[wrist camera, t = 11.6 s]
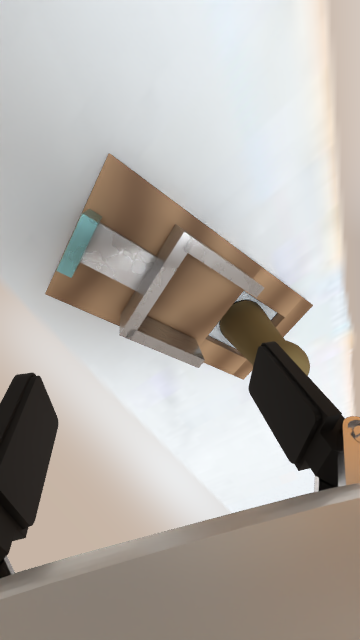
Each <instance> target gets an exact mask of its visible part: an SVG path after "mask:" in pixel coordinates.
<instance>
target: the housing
mask: <svg viewBox="0 0 360 640" xmlns="http://www.w3.org/2000/svg"><path fill="white" fill-rule="evenodd" d="M101 219H102V216H101V215H99V214H97V213H96V212H94V211H93V210H91V209H88V210H86V211H85V212H84V213H82V215H81V217H80V220H79V222H78V224H77V226H76V228H75V231H74V233H73V235H72V237H71V239H70V242H69V244H68V246H67V248H66V250H65V253H64V255H63V257H62V259H61V261H60V264H59V266H58V268H57V270H56V271H58V272H60V273H62V274H64V275H66V276H68V277H70V278H72V276H73V274H74V273H75V271H76V269H77V268H78V266H79V264H80V262H81V263H83V264H85V265H87V266H89V267H91V268H93V269H94V270H96V271H98V272H100V273H102V274H104V275H106V276H108V277H110V278H112V279H114V280H116V281H118V282H120V283H122V284H124V285H126V286H128V287H129V288H131V289H133V290H135V292H134V294H133V295H132V297H131V299H130V300H129V302H128V303H127V305H126V307H125V308H124V310H123V312H122V313H121V316H120V333H119V335H120V336H123V337H125V338H128V339H130V340H132V341H135V342H137V343H140V344H142V345H144V346H147V347H149V348H152V349H154V350H156V351H159V352H161V353H164V354H166V355H169V356H171V357H173V358H176V359H178V360H181V361H183V362H185V363H188V364H190V365H193V366H195V367H198V368H199V367H200V366H201V364H202V363H203V362H204V361H205V359H204V357H203V355H202V352H201V350H200V348H199V345H198V343H197V341H196V339H194V338H192V337H190V336H187V335H185V334H183V333H181V332H179V331H177V330H175V329H173V328H171V327H169V326H166V325H164V324H162V323H160V322H158V321H156V320H154V319H152V318H150V317H147V314H148V313H149V311H150V310H151V308H152V307H153V305H154V304H155V302H156V301H157V299H158V297H159V296H160V294H161V293H162V291H163V290H164V288H165V287H166V285H167V284H168V282H169V281H170V279H171V278H172V276H173V275H174V273H175V272H176V270H177V268H178V267H179V265H180V264H181V262H182V261H183V259H184V258H185V256H186V255H187V253H189V254H190V255H192V256H193V257H195V258H197V259H198V260H200V261H201V262H203V263H204V264H206V265H207V266H209V267H210V268H212V269H213V270H215V271H216V272H218V273H219V274H221V275H222V276H224V277H225V278H227V279H229V280H230V281H232V282H233V283H235V284H236V285H238V286H239V287H241V288H242V289H244V290H245V291H247V292H248V293H250V294H251V295H253V296H254V297H256V298H257V297H258V295H259V294H260V293H261V292H262V291H263V289H264V287H263V286H262V285H260V284H259V283H258V282H257V281H255V280H254V279H253V278H251V277H250V276H249V275H248V274H246V273H245V272H243V271H242V270H241V269H239V268H238V267H236V266H235V265H233V264H232V263H231V262H229V261H228V260H226V259H225V258H223V257H222V256H221V255H219V254H218V253H216V252H215V251H213V250H212V249H211V248H209V247H208V246H206V245H205V244H203V243H202V242H201V241H199V240H198V239H196V238H195V237H194V236H192V235H191V234H189V233H188V232H186V231H185V230H184V229H182V228H181V227H179V226H178V225H176V224H175V226H174V228H173V229H172V231H171V233H170V234H169V236H168V238H167V239H166V241H165V243H164V244H163V246H162V247H161V249H160V251H159V252H158V254H157V256H155V255H154V254H152V253H151V252H149V251H147V250H146V249H144V248H142V247H141V246H139V245H137V244H136V243H134V242H132V241H131V240H129V239H128V238H126V237H124V236H123V235H121V234H119V233H118V232H116V231H114V230H113V229H111V228H109V227H108V226H106V225H104V224H103V223H101V222H100V221H101Z"/></svg>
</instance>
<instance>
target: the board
mask: <svg viewBox="0 0 360 640" xmlns="http://www.w3.org/2000/svg"><path fill="white" fill-rule="evenodd" d="M88 209H91V210H93V211H94V212H96V213H97V214H99V215H101V216H102V219H101V221H100V222H101V223H103V224H104V225H106V226H108V227H109V228H111V229H113V230H114V231H116V232H118V233H119V234H121V235H123V236H124V237H126V238H128V239H129V240H131V241H132V242H134V243H136V244H137V245H139V246H141V247H142V248H144V249H146V250H147V251H149V252H151V253H152V254H154V255H155V256H157V254H158V252H159V251H160V249H161V247H162V246H163V244H164V243H165V241H166V239H167V238H168V236H169V234H170V233H171V231H172V229H173V228H174V226H175V224H176V225H178V226H179V227H181V228H182V229H184V230H185V231H186V232H188V233H189V234H191V235H192V236H194V237H195V238H196V239H198V240H199V241H201V242H202V243H203V244H205V245H206V246H208V247H209V248H211V249H212V250H213V251H215V252H216V253H218V254H219V255H221V256H222V257H223V258H225V259H226V260H228V261H229V262H231V263H232V264H233V265H235V266H236V267H238V268H239V269H241V270H242V271H243V272H245V273H246V274H248V275H249V276H250V277H251V278H253V279H254V280H255V281H257V282H258V283H259V284H260V285H262V286H263V287H264V289H263V291H262V292H261V293H260V294H259V295H258V297H257V298H256V297H255V298H256V299H258V300H259V301H261V302H262V303H264V304H265V305H267V306H268V307H270V308H271V309H273V310H274V311H276V312H277V315H276V316H275V317H274V318H273V319H272V320H271V322H272V323H273V324H274V326H275V327H276V329H277V330H278V331H279V333H280V334H281V335H282V337H284V336H285V335H286V334H287V333H288V332H289V330H290V329H291V328H292V327H293V326H294V325H295V324H296V323H297V322H298V321H299V320H300V319H301V318H302V317H303V316H304V314H305V313H306V312H307V311H308V310H309V309H310V308H311V307H312V306H313V305H312V304H311V303H309V302H308V301H307V300H305V299H304V298H303V297H301V296H300V295H299V294H297V293H296V292H295V291H293V290H292V289H291V288H289V287H288V286H287V285H285V284H284V283H283V282H281V281H280V280H279V279H277V278H276V277H274V276H273V275H272V274H270V273H269V272H268V271H266V270H265V269H264V268H262V267H261V266H260V265H258V264H257V263H256V262H254V261H253V260H252V259H250V258H249V257H248V256H246V255H245V254H244V253H242V252H241V251H240V250H238V249H237V248H236V247H234V246H233V245H232V244H230V243H229V242H228V241H226V240H225V239H224V238H222V237H221V236H220V235H218V234H217V233H216V232H214V231H213V230H212V229H210V228H209V227H208V226H206V225H205V224H203V223H202V222H201V221H199V220H198V219H197V218H195V217H194V216H193V215H191V214H190V213H189V212H187V211H186V210H185V209H183V208H182V207H181V206H179V205H178V204H177V203H175V202H174V201H173V200H171V199H170V198H169V197H167V196H166V195H165V194H163V193H162V192H161V191H159V190H158V189H157V188H155V187H154V186H153V185H151V184H150V183H149V182H147V181H146V180H145V179H143V178H142V177H141V176H139V175H138V174H137V173H135V172H134V171H133V170H131V169H130V168H128V167H127V166H126V165H124V164H123V163H122V162H120V161H119V160H118V159H116V158H115V157H114V156H112V155H111V154H110V153H109V154H108V156H107V159H106V161H105V163H104V165H103V167H102V170H101V172H100V174H99V176H98V178H97V181H96V183H95V185H94V187H93V190H92V192H91V194H90V196H89V198H88V201H87V203H86V205H85V207H84V209H83V212H82V213H84V212H85V211H86V210H88ZM81 215H82V214H81ZM80 217H81V216H80ZM79 220H80V218H79ZM79 220H78V222H79ZM77 224H78V223H77ZM76 226H77V225H76ZM75 228H76V227H75ZM74 231H75V229H74ZM74 231H73V233H74ZM72 235H73V234H72ZM71 237H72V236H71ZM70 239H71V238H70ZM69 242H70V240H69ZM69 242H68V244H69ZM67 246H68V245H67ZM66 248H67V247H66ZM65 250H66V249H65ZM64 253H65V251H64ZM64 253H63V255H64ZM62 257H63V256H62ZM61 259H62V258H61ZM60 261H61V260H60ZM59 264H60V262H59ZM59 264H58V266H59ZM57 268H58V267H57ZM56 270H57V269H56ZM243 291H245V290H244V289H242V288H241V287H239V286H238V285H236V284H235V283H233V282H232V281H230V280H229V279H227V278H225V277H224V276H222V275H221V274H219V273H218V272H216V271H215V270H213V269H212V268H210V267H209V266H207V265H206V264H204V263H203V262H201V261H200V260H198V259H197V258H195V257H193V256H192V255H190V254H189V253H187V255H186V256H185V258H184V259H183V261H182V262H181V264H180V265H179V267H178V268H177V270H176V272H175V273H174V275H173V276H172V278H171V279H170V281H169V282H168V284H167V285H166V287H165V288H164V290H163V291H162V293H161V294H160V296H159V297H158V299H157V301H156V302H155V304H154V305H153V307H152V308H151V310H150V311H149V313H148V314H147V317H150V318H152V319H154V320H156V321H158V322H160V323H162V324H164V325H166V326H169V327H171V328H173V329H175V330H177V331H179V332H181V333H183V334H185V335H187V336H190V337H192V338H194V339H196V341H197V343H198V345H199V348H200V350H201V352H202V355H203V357H204V359H205V361H204V363H206V364H208V365H211V366H213V367H215V368H218V369H220V370H222V371H225V372H227V373H229V374H232V375H234V376H236V377H239V378H241V379H243V380H244V378H245V377H246V376H247V375H248V374H249V373H250V372H251V371H252V370H253V365H252V364H251V363H250V362H249V361H248V360H247V359H246V358H245V357H244V356H243V355H242V354H241V353H240V352H239V351H238V350H236V349H234V348H232V347H230V346H228V345H226V344H224V343H222V342H220V341H218V340H216V339H214V338H212V337H210V336H208V335H209V334H210V332H211V331H212V330H213V328H214V327H215V326H216V325H217V323H218V322H219V321H220V320H221V318H222V317H223V316H224V315H225V313H226V312H227V311H228V310H229V308H230V307H231V306H232V305H233V303H234V302H235V301H236V300H237V298H238V297H239V296H240V294H241V293H242V292H243ZM134 292H135V290H133V289H131V288H129V287H128V286H126V285H124V284H122V283H120V282H118V281H116V280H114V279H112V278H110V277H108V276H106V275H104V274H102V273H100V272H98V271H96V270H94V269H93V268H91V267H89V266H87V265H85V264H83V263H81V262H80V264H79V266H78V268H77V269H76V271H75V273H74V274H73V276H72V278H70V277H68V276H66V275H64V274H62V273H60V272H58V271H55V273H54V275H53V278H52V280H51V282H50V284H49V287H48V289H47V291H46V293H45V294H46V295H49V296H51V297H53V298H55V299H58V300H60V301H62V302H65V303H67V304H69V305H72V306H74V307H76V308H79V309H81V310H83V311H86V312H88V313H90V314H93V315H95V316H97V317H100V318H102V319H104V320H106V321H109V322H111V323H113V324H116V325H118V326H120V316H121V313H122V312H123V310H124V308H125V307H126V305H127V303H128V302H129V300H130V299H131V297H132V295H133V294H134ZM245 292H247V291H245ZM247 293H248V292H247ZM248 294H250V293H248ZM250 295H251V294H250ZM251 296H253V295H251ZM253 297H254V296H253Z"/></svg>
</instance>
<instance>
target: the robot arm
mask: <svg viewBox="0 0 360 640" xmlns="http://www.w3.org/2000/svg"><path fill="white" fill-rule="evenodd" d="M249 392H250V395H251V396H252V398H253V400H254V401H255V403H256V405H257V407H258V408H259V410H260V412H261V413H262V415H263V417H264V419H265V420H266V422H267V424H268V425H269V427H270V429H271V431H272V432H273V434H274V436H275V437H276V439H277V441H278V442H279V444H280V446H281V448H282V449H283V451H284V453H285V454H286V456H287V458H288V459H289V461H290V462H291V463H293V464H295V466H296V467H297V469H298V471H300V470H304V469H309V468H311V470H312V471H313V473H314V474H315V482H314V492H313V493H309V494H305V495H301V496H297V497H293V498H289V499H285V500H281V501H278V502H274V503H270V504H266V505H262V506H259V507H255V508H251V509H247V510H243V511H239V512H236V513H232V514H228V515H224V516H221V517H217V518H213V519H209V520H206V521H202V522H198V523H194V524H191V525H187V526H183V527H179V528H176V529H172V530H168V531H164V532H161V533H157V534H153V535H150V536H146V537H142V538H138V539H135V540H131V541H127V542H124V543H120V544H116V545H113V546H109V547H105V548H102V549H98V550H94V551H91V552H87V553H84V554H80V555H76V556H73V557H69V558H66V559H62V560H59V561H55V562H52V563H48V564H45V565H42V566H38V567H35V568H31V569H28V570H24V571H21V572H18V573H15V572H14V570H13V568H12V566H11V564H10V562H9V560H8V558H7V555H8V553H9V550H10V547H11V543H12V541H15V540H18V539H23V538H26V534H27V530H28V527H29V526H32V525H33V523H34V521H35V518H36V514H37V510H38V506H39V502H40V498H41V493H42V490H43V486H44V482H45V478H46V473H47V469H48V465H49V461H50V457H51V453H52V449H53V445H54V441H55V437H56V433H57V429H58V418H57V415H56V413H55V411H54V408H53V406H52V403H51V401H50V398H49V396H48V394H47V392H46V389H45V387H44V384H43V382H42V379H41V377H40V376H36V375H35V374H34V373H27V374H20V375H16V376H15V377H14V378H13V380H12V382H11V384H10V386H9V388H8V390H7V392H6V394H5V396H4V398H3V399H2V401H1V403H0V640H360V417H357V416H350V417H347V418H346V419H345V418H344V417H343V416H342V415H341V414H342V413H341V412H340V411H339V410H338V409H337V408H336V407H335V406H334V404H333V403H332V402H331V401H330V400H329V399H328V398H327V397H326V396H325V395H324V394H323V392H322V391H321V390H320V389H319V388H318V387H317V386H316V385H315V384H314V383H313V382H312V380H311V379H310V378H309V377H308V376H307V375H306V374H305V373H304V372H303V371H302V370H301V368H300V367H299V366H298V365H297V364H296V363H295V362H294V361H293V360H292V359H291V358H290V356H289V355H288V354H287V353H286V352H285V351H284V350H283V349H282V348H281V347H280V346H279V344H278V343H276V342H275V341H272V342H265V343H262V344H261V346H259V347H258V349H257V353H256V358H255V362H254V366H253V370H252V375H251V379H250V383H249Z"/></svg>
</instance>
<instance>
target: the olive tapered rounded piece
mask: <svg viewBox="0 0 360 640" xmlns="http://www.w3.org/2000/svg"><path fill="white" fill-rule="evenodd" d="M220 330H221V332H222V334H223V336H224V337H225V338H226V339H227V340H228V341H229V342H230V343H231V344H232V345H233V346H234V347H235V348H236V349H237V350H238V351H239V352H240V353H241V354H242V355H243V356H244V357H245V358H246V359H247V360H248V361H249V362H250V363H251V364H252V365H253V366H254V362H255V358H256V353H257V349H258V347H259V346H261V344H262V343H265V342H272V341H275V342H276V343H278V344H279V346H280V347H281V348H282V349H283V350H284V351H285V352H286V353H287V354H288V355H289V356H290V358H291V359H292V360H293V361H294V362H295V363H296V364H297V365H298V366H299V367H300V368H301V370H302V371H303V372H304V373H305V374H306V375H307V376H308V374H309V370H310V364H309V360H308V357H307V355H306V353H305V352H304V351H303V350H302V349H301V348H300V347H299V346H298V345H296V344H294V343H291V342H289V341H285V339H284V338H283V337H282V335H281V334H280V333H279V331H278V330H277V329H276V327H275V326H274V324H273V323H272V322H271V320H270V319H269V318H268V316H267V315H266V314H265V312H264V311H263V309H262V308H261V307H260V306H259V305H258V304H257V303H255V302H253V301H241V302H237V303H235V304H233V305H232V306H231V307H230V308H229V310H228V311H227V312H226V313H225V315H224V316H223V317H222V318H221V321H220Z"/></svg>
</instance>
